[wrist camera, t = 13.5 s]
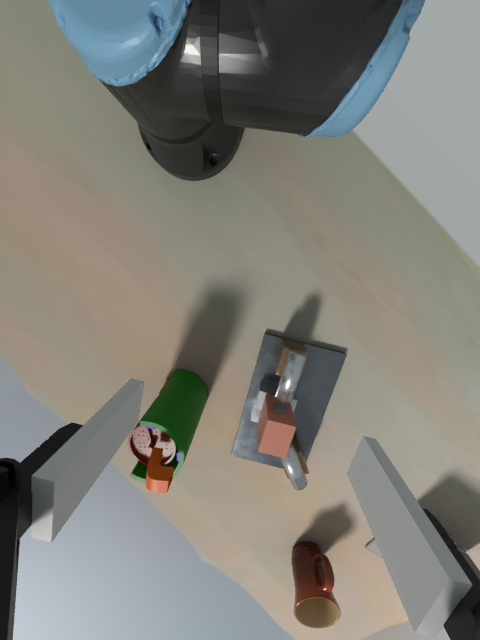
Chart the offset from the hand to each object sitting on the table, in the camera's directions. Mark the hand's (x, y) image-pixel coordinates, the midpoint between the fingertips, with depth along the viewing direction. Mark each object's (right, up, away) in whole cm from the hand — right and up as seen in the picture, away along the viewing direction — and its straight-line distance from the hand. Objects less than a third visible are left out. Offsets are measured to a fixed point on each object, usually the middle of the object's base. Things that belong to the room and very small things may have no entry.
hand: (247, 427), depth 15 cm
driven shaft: (+9, -18, +35) cm, 40 cm away
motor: (-11, -8, +35) cm, 37 cm away
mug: (+16, -46, +43) cm, 64 cm away
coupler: (+6, -11, +31) cm, 33 cm away
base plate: (+8, -10, +34) cm, 36 cm away
